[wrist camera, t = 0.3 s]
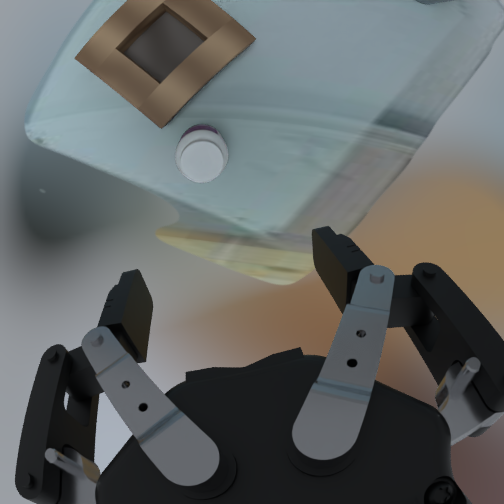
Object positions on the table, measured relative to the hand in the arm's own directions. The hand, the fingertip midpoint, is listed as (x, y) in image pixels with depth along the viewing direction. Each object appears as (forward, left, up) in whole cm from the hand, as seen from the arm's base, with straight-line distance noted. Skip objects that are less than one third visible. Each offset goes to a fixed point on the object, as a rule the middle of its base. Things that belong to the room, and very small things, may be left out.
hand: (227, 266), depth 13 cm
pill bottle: (0, -2, -25) cm, 25 cm away
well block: (-6, -14, -24) cm, 29 cm away
